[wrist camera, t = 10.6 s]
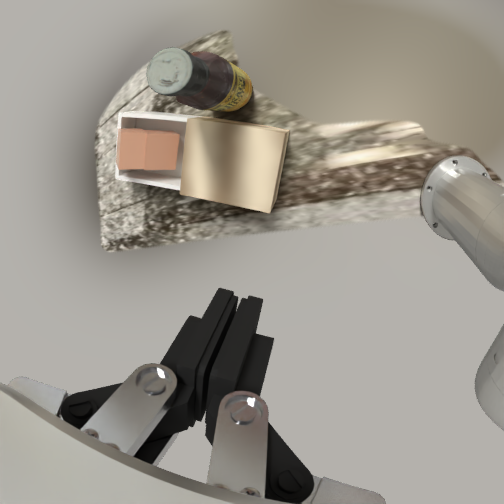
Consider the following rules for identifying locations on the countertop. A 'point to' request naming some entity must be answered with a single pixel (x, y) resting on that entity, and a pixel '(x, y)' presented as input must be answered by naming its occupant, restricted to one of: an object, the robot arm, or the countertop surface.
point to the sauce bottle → (199, 80)
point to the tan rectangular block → (233, 162)
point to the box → (155, 122)
